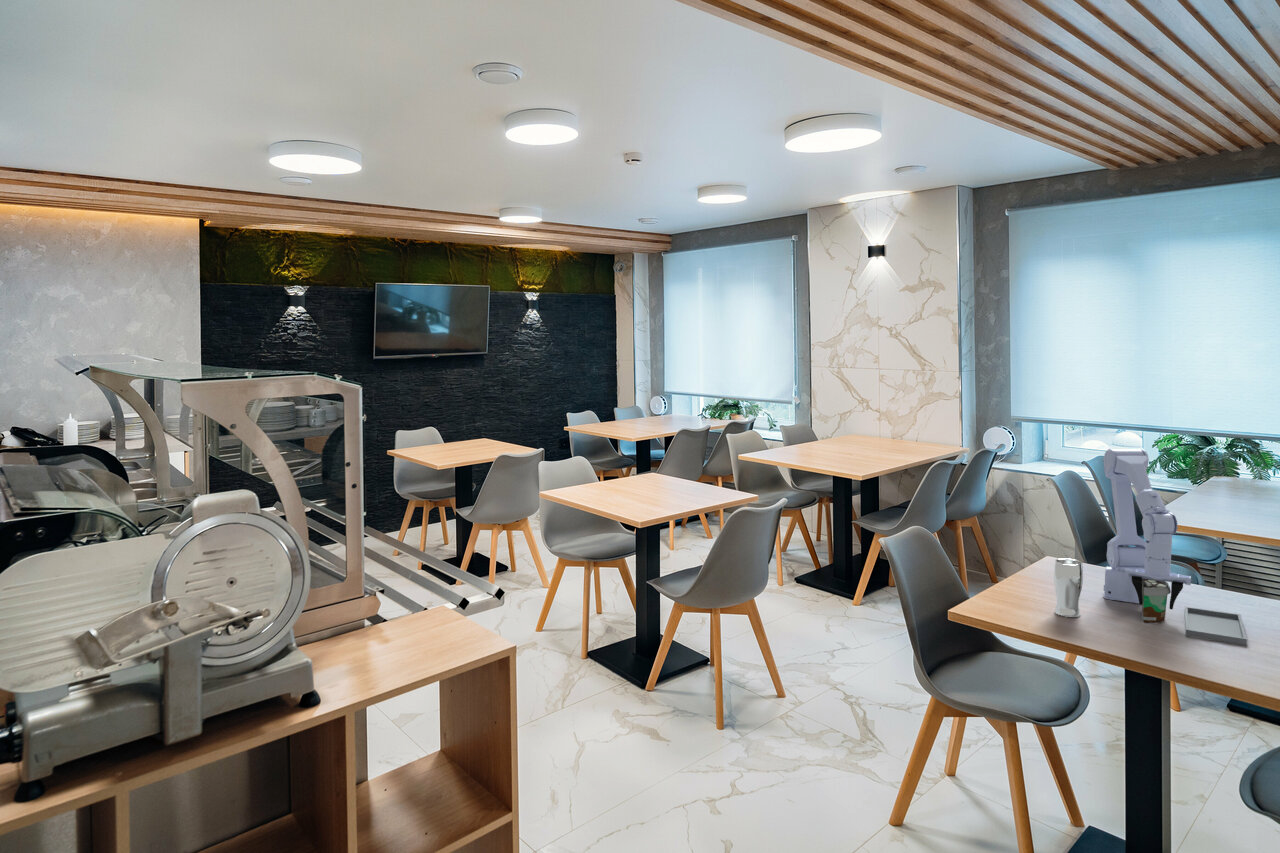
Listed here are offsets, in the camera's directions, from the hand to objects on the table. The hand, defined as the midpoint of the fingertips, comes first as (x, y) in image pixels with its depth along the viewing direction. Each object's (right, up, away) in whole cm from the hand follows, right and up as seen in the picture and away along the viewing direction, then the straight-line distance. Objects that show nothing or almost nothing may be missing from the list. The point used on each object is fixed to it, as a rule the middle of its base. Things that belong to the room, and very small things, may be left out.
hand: (1155, 606), depth 199 cm
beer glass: (-21, -4, +6) cm, 22 cm away
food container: (0, -4, 0) cm, 4 cm away
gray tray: (+10, -4, -7) cm, 13 cm away
